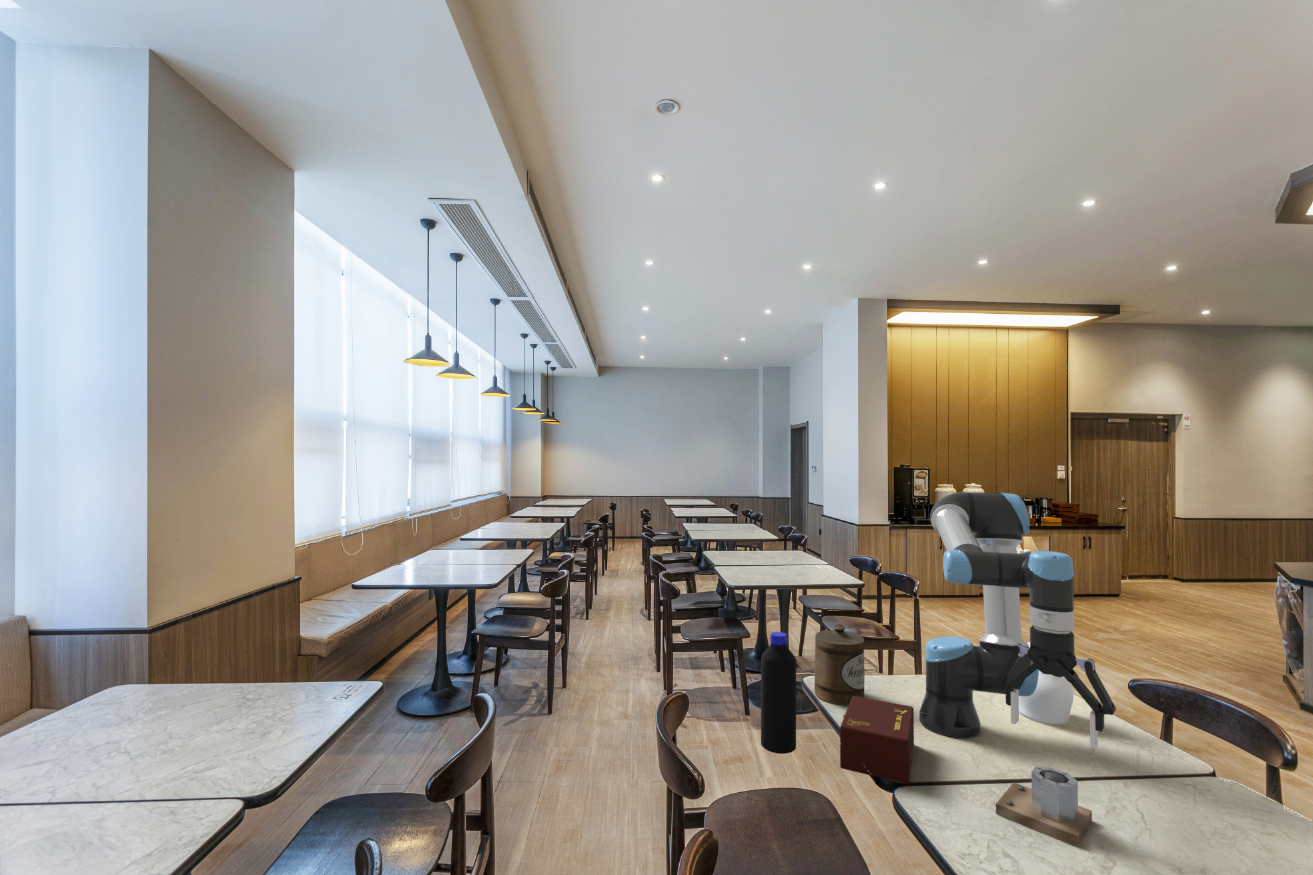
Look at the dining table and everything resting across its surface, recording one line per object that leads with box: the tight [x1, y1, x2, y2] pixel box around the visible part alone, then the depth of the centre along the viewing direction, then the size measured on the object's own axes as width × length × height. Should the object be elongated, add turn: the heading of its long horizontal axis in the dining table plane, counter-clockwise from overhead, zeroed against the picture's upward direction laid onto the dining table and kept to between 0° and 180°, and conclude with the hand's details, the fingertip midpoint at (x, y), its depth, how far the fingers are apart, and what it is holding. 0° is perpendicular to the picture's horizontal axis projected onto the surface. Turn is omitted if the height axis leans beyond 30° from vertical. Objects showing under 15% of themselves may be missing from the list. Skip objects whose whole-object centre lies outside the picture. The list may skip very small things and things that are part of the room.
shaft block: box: [995, 772, 1093, 848], centre depth 118 cm, size 14×12×9 cm
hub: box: [1030, 766, 1079, 823], centre depth 117 cm, size 7×7×7 cm
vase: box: [1019, 641, 1075, 726], centre depth 166 cm, size 14×14×20 cm
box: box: [839, 696, 915, 785], centre depth 143 cm, size 21×16×10 cm
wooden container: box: [814, 623, 866, 706], centre depth 180 cm, size 15×15×22 cm
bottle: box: [760, 631, 797, 755], centre depth 147 cm, size 9×9×28 cm
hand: (1052, 733), depth 118 cm, fingers open, 13 cm apart
